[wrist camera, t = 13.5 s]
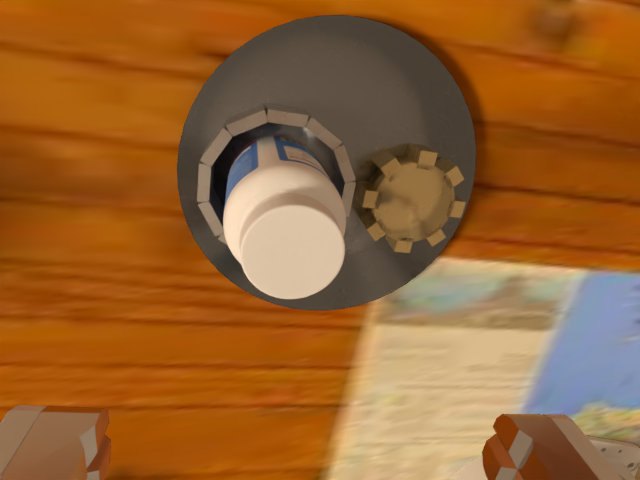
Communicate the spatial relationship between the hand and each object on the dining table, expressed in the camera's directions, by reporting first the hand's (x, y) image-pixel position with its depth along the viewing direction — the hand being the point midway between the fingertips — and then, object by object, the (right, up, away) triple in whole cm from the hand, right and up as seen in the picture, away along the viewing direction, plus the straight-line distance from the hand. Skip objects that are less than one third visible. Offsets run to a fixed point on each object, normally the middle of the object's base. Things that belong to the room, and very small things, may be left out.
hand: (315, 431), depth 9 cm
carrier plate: (+1, +8, +17) cm, 19 cm away
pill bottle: (-2, +8, +16) cm, 18 cm away
